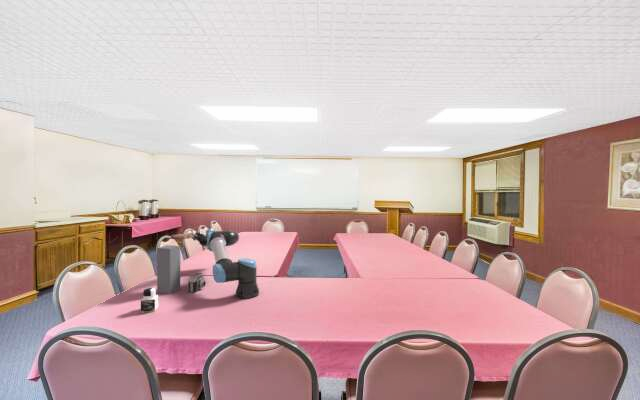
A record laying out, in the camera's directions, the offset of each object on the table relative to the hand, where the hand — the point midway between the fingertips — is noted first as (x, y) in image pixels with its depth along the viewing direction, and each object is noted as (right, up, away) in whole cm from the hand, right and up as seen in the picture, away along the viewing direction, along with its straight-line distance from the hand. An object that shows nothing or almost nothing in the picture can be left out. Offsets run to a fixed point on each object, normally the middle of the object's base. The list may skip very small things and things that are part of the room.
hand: (190, 231), depth 217 cm
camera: (+14, -39, -19) cm, 45 cm away
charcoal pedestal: (-4, -38, -22) cm, 44 cm away
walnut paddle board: (-1, -4, -4) cm, 5 cm away
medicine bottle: (+1, -39, -54) cm, 67 cm away
